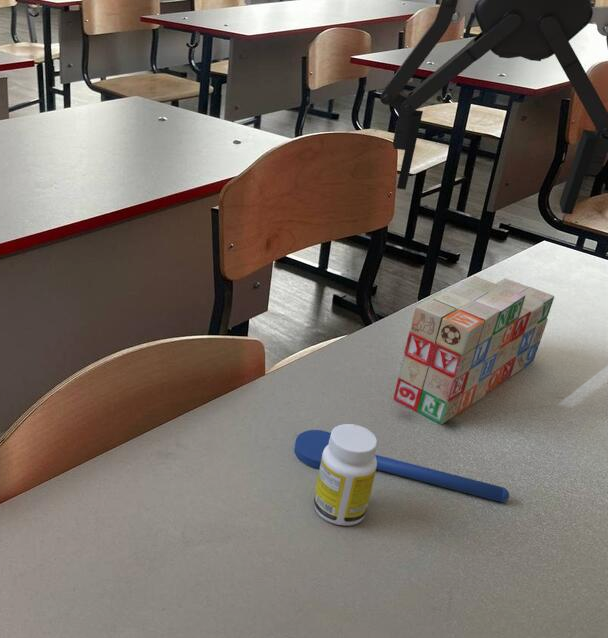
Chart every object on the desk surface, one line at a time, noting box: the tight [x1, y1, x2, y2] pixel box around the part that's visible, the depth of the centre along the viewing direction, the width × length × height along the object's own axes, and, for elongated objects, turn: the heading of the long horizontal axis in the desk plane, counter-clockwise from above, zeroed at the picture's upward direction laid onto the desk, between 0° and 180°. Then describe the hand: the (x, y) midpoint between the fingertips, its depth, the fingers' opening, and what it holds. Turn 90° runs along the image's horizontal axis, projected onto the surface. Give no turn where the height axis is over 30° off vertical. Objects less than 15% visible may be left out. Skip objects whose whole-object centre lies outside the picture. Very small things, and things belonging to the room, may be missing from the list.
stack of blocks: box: [393, 275, 555, 425], centre depth 87 cm, size 21×6×12 cm, turn 129°
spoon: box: [293, 429, 510, 503], centre depth 75 cm, size 20×5×1 cm, turn 68°
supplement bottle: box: [313, 423, 378, 526], centre depth 69 cm, size 5×5×8 cm
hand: (481, 196), depth 68 cm, fingers open, 13 cm apart
